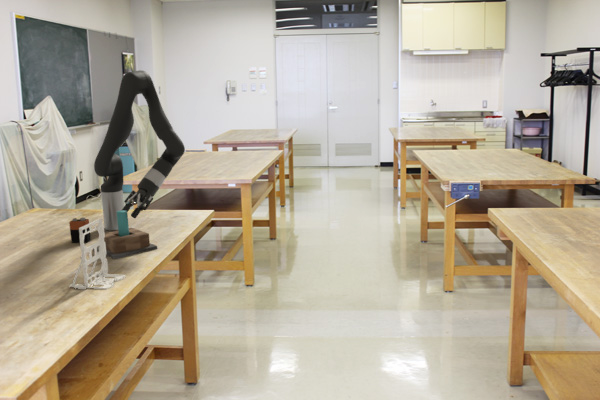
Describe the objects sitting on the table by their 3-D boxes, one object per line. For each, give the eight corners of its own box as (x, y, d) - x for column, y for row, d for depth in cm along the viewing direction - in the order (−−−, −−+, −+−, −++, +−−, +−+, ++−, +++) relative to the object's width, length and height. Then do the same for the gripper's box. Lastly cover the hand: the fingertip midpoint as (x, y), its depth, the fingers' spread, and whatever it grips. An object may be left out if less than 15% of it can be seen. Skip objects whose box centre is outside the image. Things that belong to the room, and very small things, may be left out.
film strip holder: (107, 290, 185) (101, 229, 181) (67, 289, 188) (60, 228, 184) (128, 275, 199) (123, 218, 195) (91, 274, 202) (85, 217, 197)
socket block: (93, 249, 231) (91, 234, 229) (135, 240, 243) (133, 225, 241) (114, 259, 218) (112, 243, 216) (157, 248, 230) (156, 233, 228)
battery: (87, 242, 241) (85, 219, 239) (71, 243, 241) (68, 219, 239) (91, 239, 246) (88, 216, 243) (75, 240, 246) (72, 217, 244)
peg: (118, 246, 230) (114, 211, 227) (127, 244, 233) (124, 209, 230) (122, 248, 227) (119, 213, 224) (132, 246, 230) (129, 211, 227)
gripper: (136, 174, 237) (112, 207, 232) (154, 178, 227) (129, 212, 222) (149, 185, 242) (125, 217, 236) (167, 190, 231) (143, 223, 226)
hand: (127, 215), depth 229 cm, fingers open, 8 cm apart
